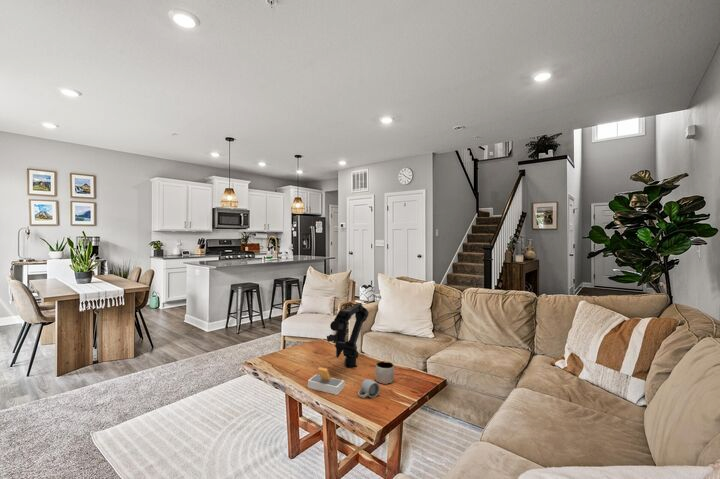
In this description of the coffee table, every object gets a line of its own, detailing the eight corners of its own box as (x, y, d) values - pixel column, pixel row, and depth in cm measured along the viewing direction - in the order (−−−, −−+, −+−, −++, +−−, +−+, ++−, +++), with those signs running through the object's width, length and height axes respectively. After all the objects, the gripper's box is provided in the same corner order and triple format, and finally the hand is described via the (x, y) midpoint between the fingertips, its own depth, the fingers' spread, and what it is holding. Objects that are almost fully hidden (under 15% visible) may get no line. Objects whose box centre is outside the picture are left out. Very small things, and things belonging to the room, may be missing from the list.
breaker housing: (315, 381, 191) (316, 373, 191) (344, 387, 184) (344, 380, 184) (307, 387, 182) (308, 380, 182) (337, 394, 176) (337, 386, 176)
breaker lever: (322, 376, 184) (319, 366, 180) (330, 378, 182) (327, 368, 178) (321, 379, 183) (318, 369, 179) (329, 381, 181) (326, 371, 177)
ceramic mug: (370, 389, 184) (370, 375, 183) (379, 395, 177) (380, 381, 177) (354, 394, 178) (355, 380, 177) (363, 401, 171) (364, 386, 171)
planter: (378, 385, 189) (379, 369, 188) (372, 377, 199) (373, 361, 199) (396, 384, 192) (396, 367, 191) (389, 376, 202) (390, 360, 202)
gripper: (327, 328, 211) (323, 353, 207) (329, 330, 193) (324, 358, 189) (344, 330, 212) (340, 356, 209) (348, 333, 194) (343, 360, 191)
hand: (337, 357), depth 199 cm, fingers closed
